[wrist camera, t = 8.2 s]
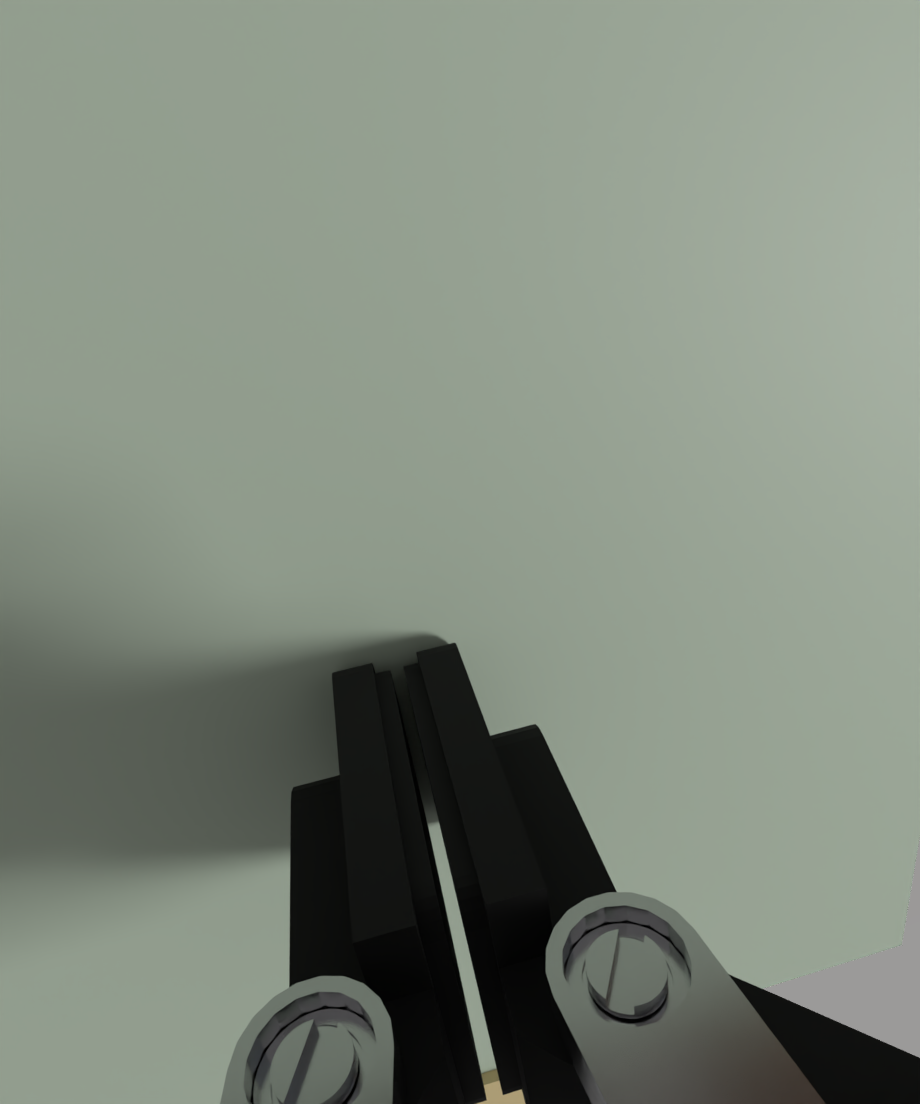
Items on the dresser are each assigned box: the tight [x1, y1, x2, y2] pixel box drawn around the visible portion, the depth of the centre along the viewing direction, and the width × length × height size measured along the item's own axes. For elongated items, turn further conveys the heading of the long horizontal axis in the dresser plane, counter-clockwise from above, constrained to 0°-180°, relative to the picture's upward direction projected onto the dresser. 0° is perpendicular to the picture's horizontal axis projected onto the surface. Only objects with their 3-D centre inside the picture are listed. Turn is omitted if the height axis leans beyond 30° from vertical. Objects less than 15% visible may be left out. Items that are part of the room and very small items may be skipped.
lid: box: [0, 0, 920, 1104], centre depth 11 cm, size 20×17×3 cm
